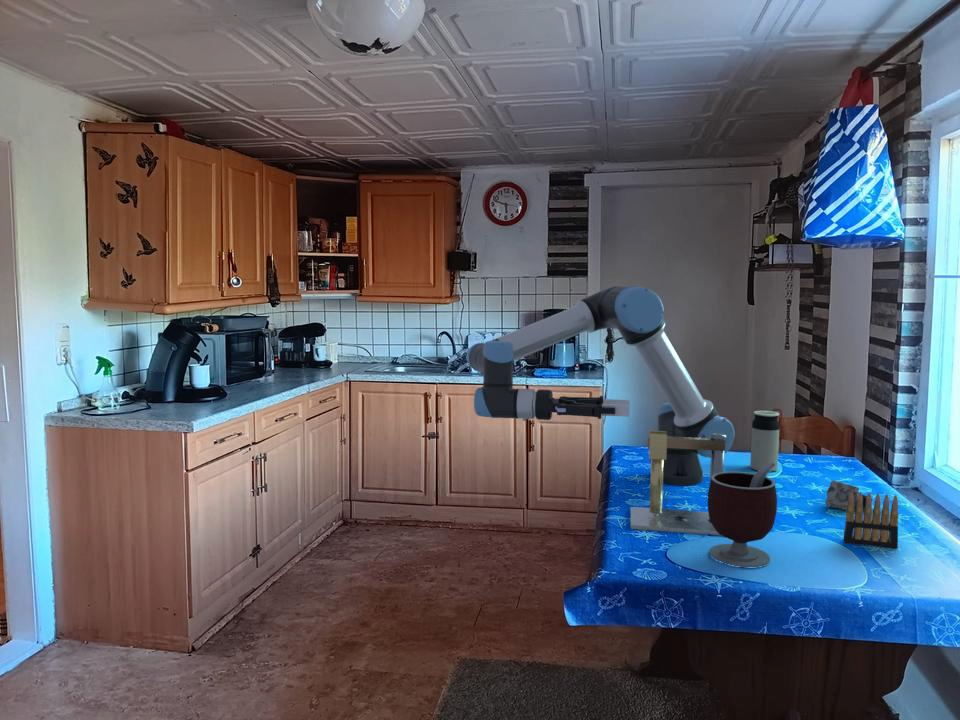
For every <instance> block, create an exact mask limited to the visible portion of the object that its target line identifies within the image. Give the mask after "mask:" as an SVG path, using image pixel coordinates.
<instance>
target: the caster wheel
mask: <svg viewBox="0 0 960 720" xmlns="http://www.w3.org/2000/svg"><path fill="white" fill-rule="evenodd" d="M851 491H852V492H853V495H854V507H856V505H857V498H858V495H859V493H860V487H858V486H855V485H851V484H847V483H844V482H842V481H837V480H833V479H832V480H831V481H830V483H829V487H828V489H827V490H826V499H825V502H824V503H825V504H824V506H829V507H831V508H834V509H839V510H842V511H845V512H846V510H847V506H848V498H849V494H850V492H851ZM862 497H863V508H865V504H866V498H867V495H865V494H862ZM871 499H872V500H873V498H872V497H871Z"/></svg>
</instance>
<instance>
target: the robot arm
mask: <svg viewBox="0 0 960 720" xmlns="http://www.w3.org/2000/svg"><path fill="white" fill-rule="evenodd" d="M664 311H665V308H664V305H663V302H662V300H661V298H660V297H659V295H658V294H657V293H656V292H655V291H653V290H651V289H650V288H646V287H643V286H640V285H633V286H632V285H631V286H621V285H619V286H616V285H615V286H611V287H607V288H605V289H604V288H603V289H602V290H599V291H598V292H596V293H594V294H593V293H592V294H591V295H589V296H587V297H585V298H583V299H580V300H578V301H576V302H575V306H573V307H570V308H568V309H565V310H562V311H561V312H558V313H555V314H553V315H550V316H548V317H546V318H543V319H540V320H538V321H536V322H534V323H531V324H528V325H526V326H523V327H521V328H518V329H515V330H514V331H511V332H509V333H506V334H504V335H501V336H499V337H496V338H495V339H492V340H487V341H485V342H484V343H483V342H479V343H475V344H473V345H471V346H470V347H469V348H468V350H467V352H466V361H467V363H468V365H469V367H470V368H472V369H473V370H474V371H475V372H477V373H481V374H483V383H482V386H481V387H477V388H476V389H475V392H474V395H473V396H474V397H473V409H474V412H475V415H477V416H478V417H484V418H485V417H486V418H491V419H519V420H520V419H522V421H523V422H527V420H534V419H535V418H536V420H539V421H542V420H544V421H550V420H551V419H552V417H553V413H556V415H557V416H572V417H573V416H575V417H587V418H588V417H590V418H591V417H592V418H597V419H598V420H599V419H600V420H601V419H602V416H603V417H604V416H605V417H628V418H630V408H631V407H630V403H631V402H630V401H631V400H630V399H614V398H613V399H612V398H610V399H609V398H604V396H603V395H599V397H598V396H597V397H595V396H594V397H591V396H589V397H588V396H587V397H586V396H583V397H582V396H565V395H563V396H559V398H553V395H554V394H553V391H552V390H550V389H538V390H535V389H534V388H514V381H513V380H514V361H515V362H516V361H517V360H520V359H521V358H524V357H526V356H529V355H531V354H533V353H536V352H539V351H541V350H544V349H546V348H548V347H551V346H554V345H556V344H558V343H561V342H563V341H565V340H567V339H571V338H572V337H575V336H577V335H579V334H582V333H584V332H587V333H589V334H592V333H594V332H597V331H601V330H604V329H615V330H617V331H618V332H619V333H620V335H621V337H622V338H623V340H624V342H625V343H626V344H627V346H631V347H635V349H636V351H637V352H638V354H639V355H640V357H641V359H642V360H643V362H644V364H645V366H646V367H647V369H648V370H649V373H650V375H651V376H652V378H653V379H654V380H655V383H656V385H658V388H659V389H660V391H661V392H662V394H663V396H664V397H665V399H666V401H667V402H663V403H661V404H660V405H659V408H658V414H657V418H658V420H657V422H658V423H657V431H666V435H667V436H673V437H695V438H710V436H711V434H712V433H721V434H725V435H726V441H725V451H724V455H725V454H727V452H728V451H730V449H731V448H732V446H733V444H734V440H735V436H736V435H735V434H736V433H735V427H734V425H733V423H732V422H731V421H730V420H729V419H728V418H727V417H724V416H721V415H720V413H719V412H718V411H717V408H716V407H715V405H714V404H713V402H712V401H711V400H710V399H709V400H708V399H704V398H703V396H702V394H701V393H700V391H699V389H698V388H697V386H696V384H695V382H694V381H693V378H692V377H691V376H690V374H689V372H688V370H687V369H686V367H685V365H684V363H683V362H682V360H681V358H680V357H679V355H678V353H677V351H676V350H675V348H674V346H673V345H672V343H671V341H670V339H669V338H668V335H667V334H666V332H665V326H666V321H665V318H664ZM699 455H700V456H701V457H704V458H710V459H711V450H696V449H676V448H667V454H666V460H664V467H663V484H667V485H673V486H674V485H675V486H692V485H697V484H700V483H702V482H703V481H704V472H703V470H702V465H701V461H700V458H699Z"/></svg>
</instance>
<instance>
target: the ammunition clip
mask: <svg viewBox="0 0 960 720" xmlns="http://www.w3.org/2000/svg"><path fill="white" fill-rule="evenodd" d="M862 495H863V493H862V492H861V491H859V495H858V498H857V505H856V506H854V495H853V492H852V491H851V492H850V494H849V498H848V506H847V510H846V511H845V523H844V531H843V532H844V533H843V539H842V541H843V543H844V544H850V545H859V546H868V547H876V548H888V549H894V550H895V549H896V550H897V549H898V548H899V547H898V546H899V538H898V537H899V500H898V496H897V494H894V497H893V498H892V501H891V508H890V497H889V495H888V493H886V494H885V496H884V499H883V502H882V510H881V497H880V494H879V492H878V493H876V495H875V498H874V505H873V507H872V502H873V498H872V495H871V492H868V493H867V495H866V496H867V498H866V504H865V507H863V497H862ZM871 498H872V499H871ZM872 508H873V509H872ZM890 509H891V510H890Z"/></svg>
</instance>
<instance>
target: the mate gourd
mask: <svg viewBox="0 0 960 720" xmlns="http://www.w3.org/2000/svg"><path fill="white" fill-rule="evenodd" d="M773 466H775V463H773V462H772V463H770V464H768V465H766V466H765V467H763V468H761V469H760V470H759V471H757V470H756V472H755V473H753V472H752V473H751V472H745V471H744V472H743V471H724V472H721V473H716V474H714V475H712V476H711V482H710V481H709V486H708V490H707V512H708V513H709V519H710V522H711V524H712V525H713V527H714V528H715V530H716V531H717V532H718V533H719V534H720V535H719V536H721V535H722V537H724V538H727V539H729V540H731V541H732V543H721V544H717V545H714V546H712V547H710V549H709V556H710V555H711V556H712V557H713V558H714V559H716V560H718V561H721V562H723V563H726V564H730V565H734V566H740V567H759V566H764V565H767V564H768V563H769V562H771V556H770V555H769V554H768V553H767V552H766V551H764V550H761V549H759V548H757V547H753V546H750V545H748V543H750V542H756V541H757V542H758V541H760V540H762V539H764V538H765V537H766V536H767V535H768V534H769V533H771V531H772V530H773V527H774V525H775V521H776V517H777V512H778V510H777V509H778V496H777V495H778V494H777V488H776V482H775V480H774V479H772V478H770V477H768V473H770V472H769V470H770V469H771V468H772V467H773ZM769 564H770V563H769ZM769 564H768V565H769ZM768 565H767V566H768Z"/></svg>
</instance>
